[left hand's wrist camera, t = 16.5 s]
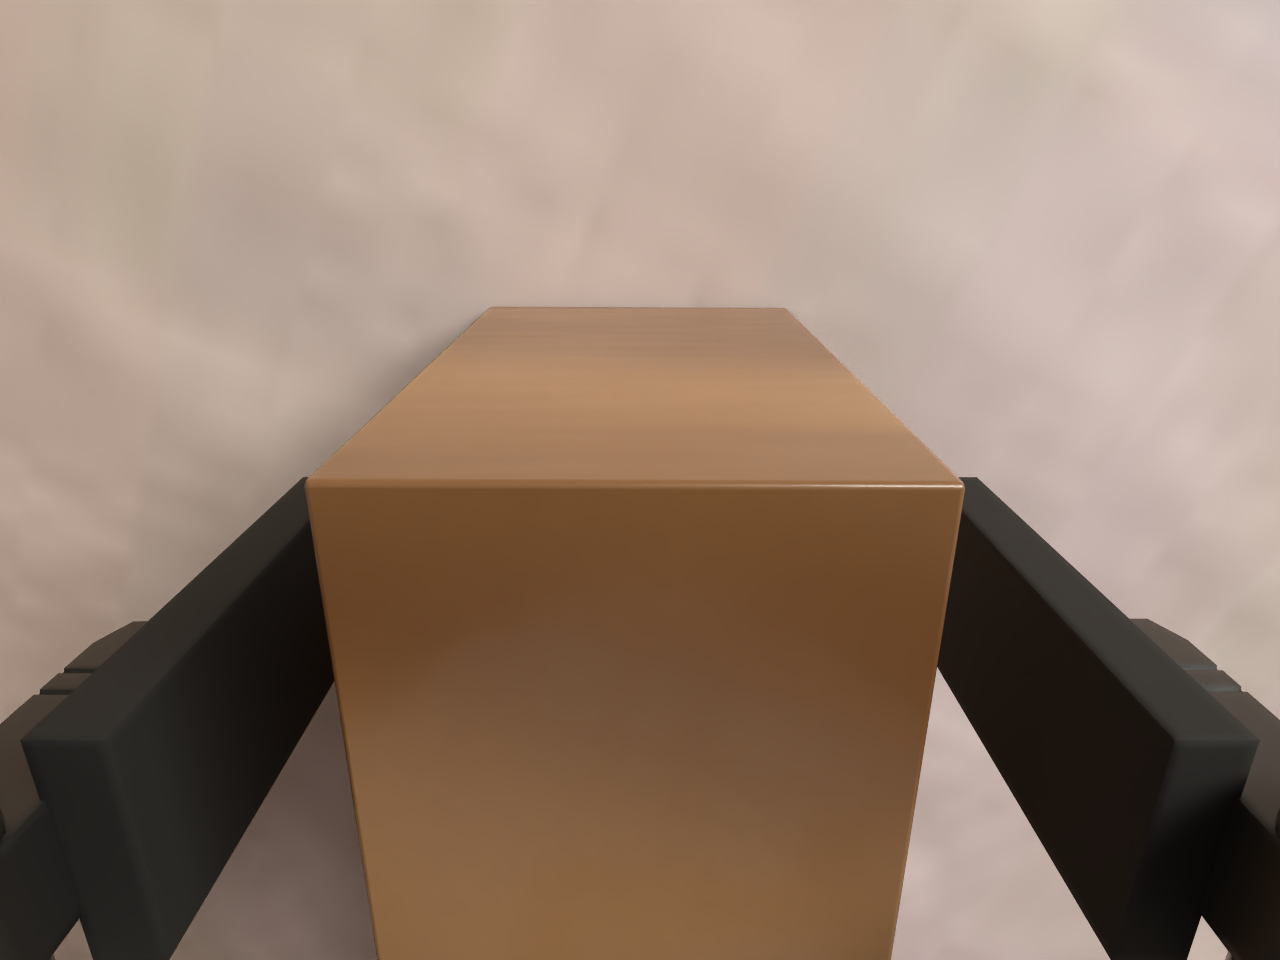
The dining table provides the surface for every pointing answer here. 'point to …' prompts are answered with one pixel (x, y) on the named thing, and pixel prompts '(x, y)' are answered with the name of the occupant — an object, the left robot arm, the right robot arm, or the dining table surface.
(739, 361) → the bar
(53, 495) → the dining table surface
